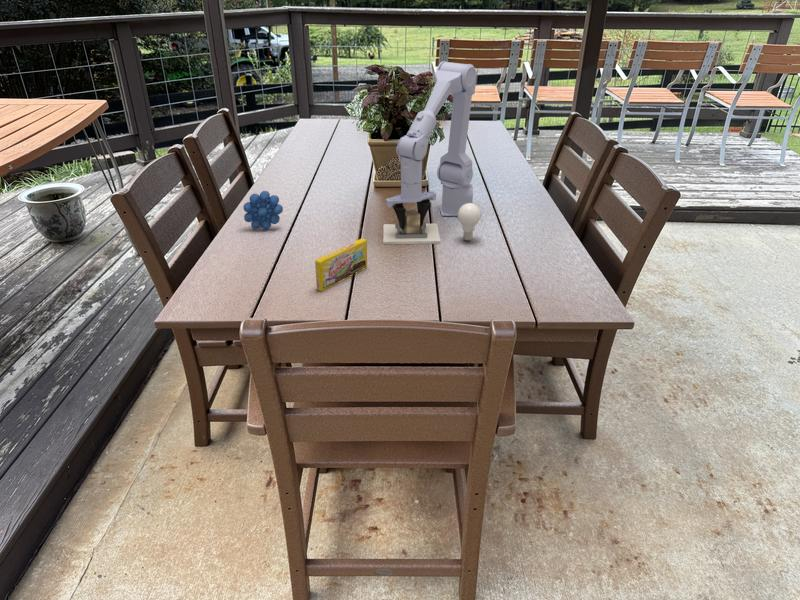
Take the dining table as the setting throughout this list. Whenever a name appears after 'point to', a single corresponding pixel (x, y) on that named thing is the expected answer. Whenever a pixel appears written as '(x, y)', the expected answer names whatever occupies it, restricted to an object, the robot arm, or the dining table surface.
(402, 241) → the socket board
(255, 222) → the blue knobbed flower
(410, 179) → the robot arm
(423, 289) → the dining table surface
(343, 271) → the candy box
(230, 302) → the dining table surface
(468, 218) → the lightbulb
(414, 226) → the birch block
